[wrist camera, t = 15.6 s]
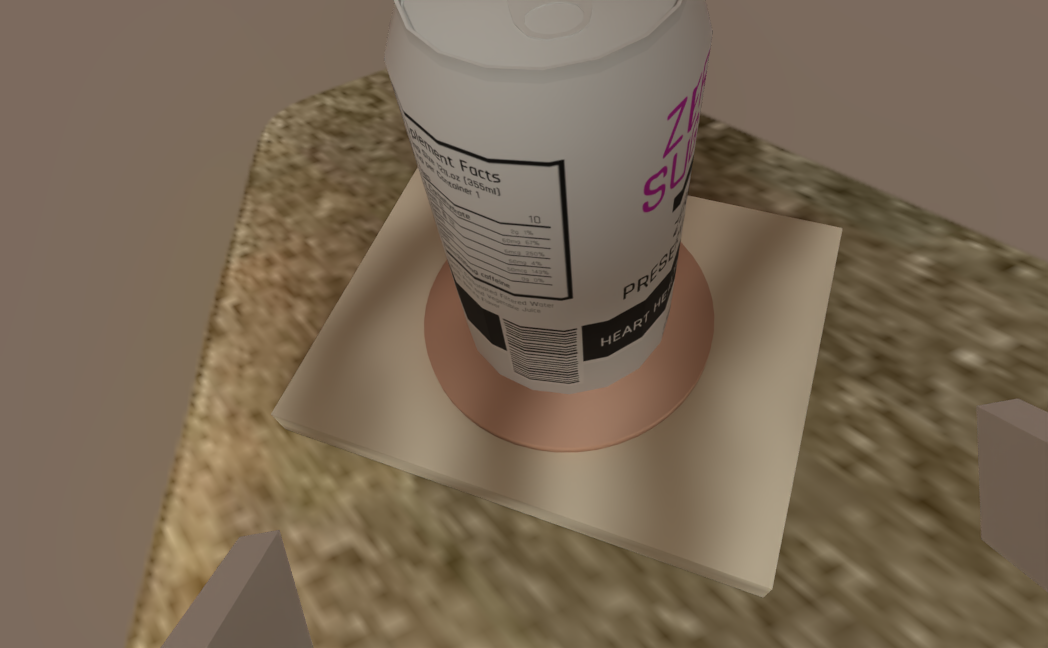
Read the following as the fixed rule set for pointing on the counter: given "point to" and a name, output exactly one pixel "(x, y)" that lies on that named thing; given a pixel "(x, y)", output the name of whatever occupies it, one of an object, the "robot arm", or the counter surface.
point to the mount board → (593, 393)
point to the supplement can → (555, 170)
